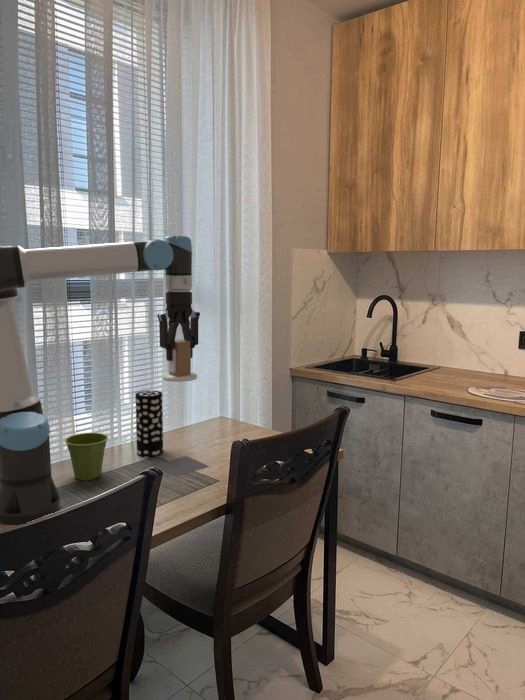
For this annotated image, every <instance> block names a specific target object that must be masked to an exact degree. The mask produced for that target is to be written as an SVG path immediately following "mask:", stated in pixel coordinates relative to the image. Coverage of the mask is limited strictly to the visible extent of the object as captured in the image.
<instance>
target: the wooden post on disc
mask: <svg viewBox="0 0 525 700" xmlns="http://www.w3.org/2000/svg"><path fill="white" fill-rule="evenodd" d="M173 350H176V372H170V371H169V370H168V372H165V373H163V374H162V379H163V381H168V382H178V383H179V382H181V383H182V382H189V381H195V380H197V379H198V374H197V373H196V372H194V371H193V372H192V363H191V362H192V361H191V359H192V358H191V356H190V341H186V340H184V339H175V342H174V348H173Z"/></svg>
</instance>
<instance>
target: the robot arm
mask: <svg viewBox="0 0 525 700" xmlns="http://www.w3.org/2000/svg"><path fill="white" fill-rule="evenodd" d="M192 248H193V246H192V239H191V238H190V237H189V236H185V235H167V236H165V238H164V240H162V239H157V238H155V239H151V240H138V241H135V240H134V241H125V242H122V241H121V242H110V243H97V244H84V245H71V246H70V245H68V246H58V247H42V248H41V247H40V248H30V249H29V248H27V249H25V248H23V247H21V245H6V246H5V245H0V523H1V524H5V525H23V523H25V524H27V523H26V522H29V521H32V520H35V519H38V518H41V517H43V516H45V515H48V514H51V513H54V512H56V511H57V512H58V511H59V510H60V508H61V497H60V494H59V492H58V488H57V487H56V484H55V482H54V480H53V476H52V465H51V464H52V462H51V445H50V440H51V439H50V433H51V427H50V425H49V420H48V418H47V417H46V416H45V415H44V412H43V407H42V403H41V402H42V401H41V398H40V396H37V395H36V394H34V393H33V389H32V385H31V380H30V375H29V370H28V365H27V360H26V357H25V356H26V355H25V353H24V347H23V344H22V343H23V342H22V338H21V333H20V329H19V325H18V320H17V316H16V310H15V305H14V304H15V302H16V300H17V299H18V298H19V294H18V290H17V289H19V288H26V287H28V286H29V285H30V283H37V282H38V283H39V282H44V281H45V282H47V281H54V280H55V281H58V280H65V279H66V280H67V279H75V278H77V279H78V278H87V277H94V276H96V277H98V276H108V275H117V274H125V273H128V274H129V273H136V272H139V273H140V272H147V271H148V272H149V271H150V272H151V271H158V272H159V271H164V272H165V273H164V274H165V287H164V288H165V290H166V292H165V304H166V308H165V311H164V312H162V313H157V314H156V315H157V316H156V317H157V319H158V323H159V324H158V325H159V326H158V328H159V330H158V331H159V346H160V348H162V349H165V351H166V354H165V356H166V361H167V362H168V372H169V371H170V372H176V350H173V348H174V342H175V340H176V336H177V331H178V330H177V329H178V327H179V325H180V326H181V332H182V336H183V340H186V341H190V356H191V359H193V356H194V355H193V349H194V348H195V347H196V346H198V345H199V319H200V316H201V313H200V312H199V311H195V310H193V308H192V304H193V292H192V291H191V290H192V289H193V276H192V275H193V272H192V271H193V269H192V268H193V266H192V264H193V249H192ZM168 319H169V320H168ZM57 512H56V513H57ZM54 514H55V513H54Z"/></svg>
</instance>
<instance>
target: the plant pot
mask: <svg viewBox="0 0 525 700" xmlns="http://www.w3.org/2000/svg"><path fill="white" fill-rule="evenodd" d="M108 440H109V436H108V435H107V434H105V433H101V432H83V433H76V434H73V435H69V436H67V437H66V438H65V439H64V443H65V444H66V445H67V450H68V451H69V452H68V453H69V456H70V460H71V461H70V462H71V465H72V470H73V471H72V472H73V476H74V478H75V479H76V480H80V481H91V480H94V479H96V478H99V477H101V475H102V469H103V463H104V456H105V455H104V454H105V448H106V445H107V441H108Z"/></svg>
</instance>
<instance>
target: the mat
mask: <svg viewBox="0 0 525 700" xmlns="http://www.w3.org/2000/svg"><path fill="white" fill-rule="evenodd" d="M153 466H154V467H156V468H158V469H160V470H162V471H164V472H166V473H168V474H170V475H172V476H174V477H176V478H177V477H179V476H183V475H186V474H189V473H193V472H195V471H198V470H202V469H203V470H204V469H206V468H209V467H210V465H207V464H205V463H203V462H201V461H199V460H197V459H194V458H192V457H189V456H187V455H185V456H180V457H178V458H174V459H170V460H167V461H163V462H159V463H156V464H153Z"/></svg>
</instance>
